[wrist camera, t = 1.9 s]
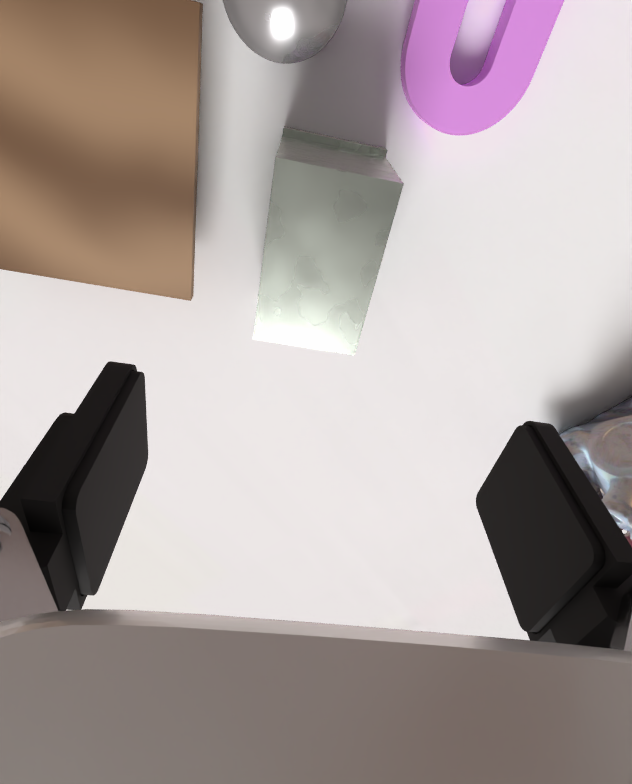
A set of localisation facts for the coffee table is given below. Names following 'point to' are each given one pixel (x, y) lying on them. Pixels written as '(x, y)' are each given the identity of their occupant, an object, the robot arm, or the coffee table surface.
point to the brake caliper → (607, 459)
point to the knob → (285, 26)
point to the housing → (324, 240)
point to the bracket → (498, 75)
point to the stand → (100, 141)
